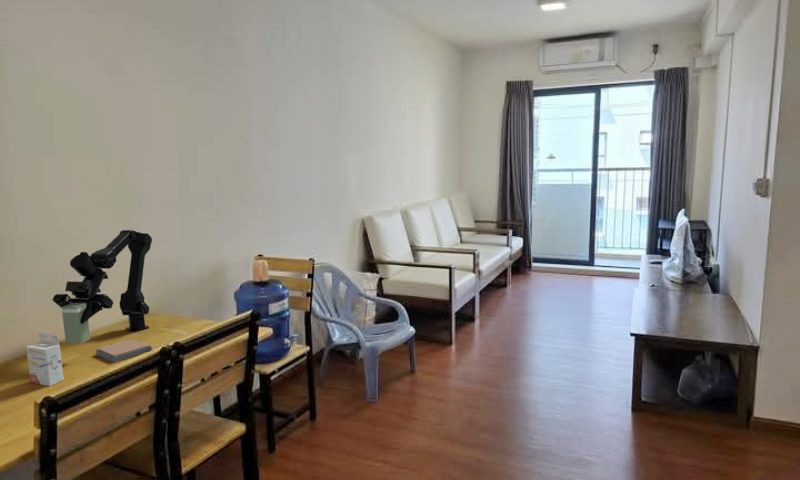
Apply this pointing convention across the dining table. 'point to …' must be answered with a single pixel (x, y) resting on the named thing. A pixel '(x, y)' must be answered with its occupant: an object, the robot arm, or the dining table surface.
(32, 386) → the dining table surface
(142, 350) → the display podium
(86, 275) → the robot arm
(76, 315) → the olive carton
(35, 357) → the ink cartridge box
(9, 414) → the dining table surface
